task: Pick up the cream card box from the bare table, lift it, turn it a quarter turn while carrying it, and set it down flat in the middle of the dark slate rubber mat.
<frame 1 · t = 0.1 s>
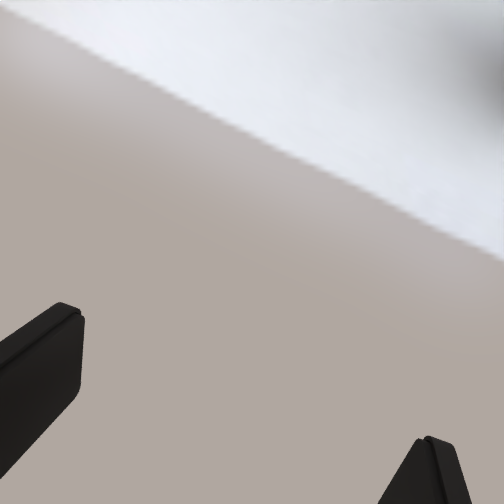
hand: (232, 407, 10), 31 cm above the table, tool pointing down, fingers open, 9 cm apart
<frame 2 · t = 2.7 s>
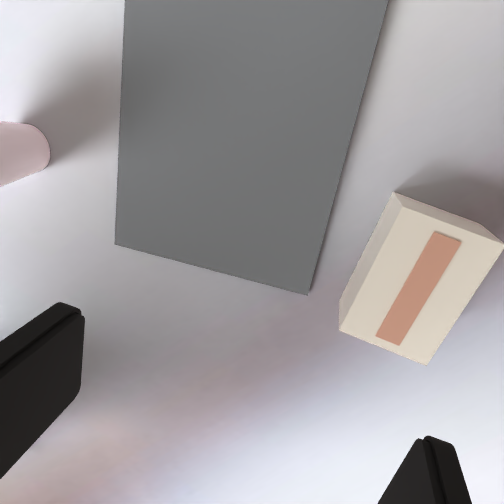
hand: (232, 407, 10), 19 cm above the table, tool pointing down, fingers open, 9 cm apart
smoothie: (31, 147, 30), on the table
mat: (229, 138, 26), on the table
card box: (403, 263, 27), on the table
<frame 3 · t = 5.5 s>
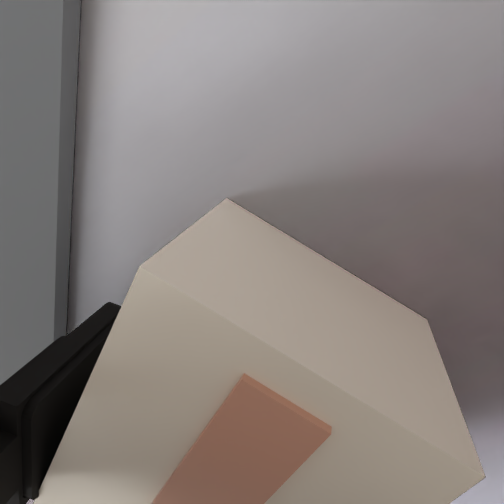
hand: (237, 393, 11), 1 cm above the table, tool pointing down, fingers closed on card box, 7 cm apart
card box: (245, 371, 12), on the table, touching gripper
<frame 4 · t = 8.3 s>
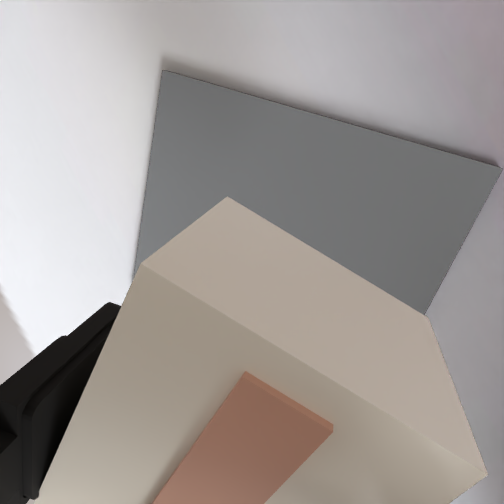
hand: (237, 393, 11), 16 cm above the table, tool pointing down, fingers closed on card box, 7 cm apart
mat: (285, 239, 25), on the table
card box: (246, 370, 12), point 15 cm above the table, touching gripper
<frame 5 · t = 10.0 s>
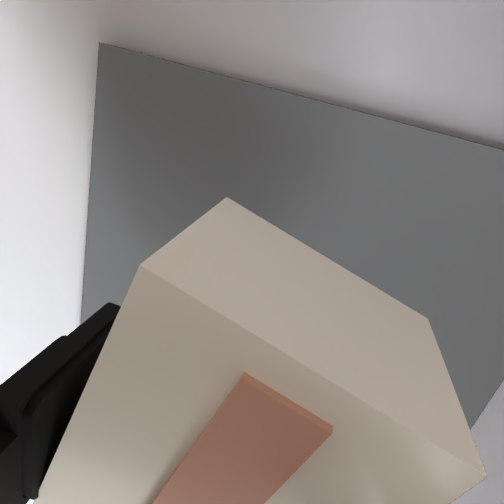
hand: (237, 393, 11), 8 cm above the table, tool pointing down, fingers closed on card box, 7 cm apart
mat: (285, 285, 18), on the table
card box: (246, 370, 12), point 7 cm above the table, touching gripper
when the fingers open (3 cm above the table, at t = 11.4 s): card box drops 1 cm, resting on mat.
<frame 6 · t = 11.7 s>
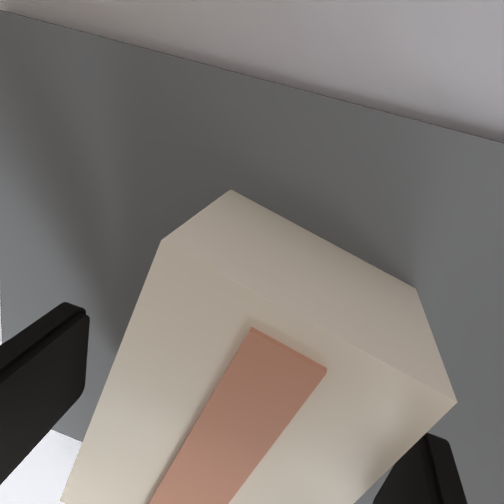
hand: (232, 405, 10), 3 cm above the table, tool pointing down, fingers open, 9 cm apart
mat: (258, 336, 13), on the table
card box: (255, 347, 13), point 1 cm above the table, touching mat
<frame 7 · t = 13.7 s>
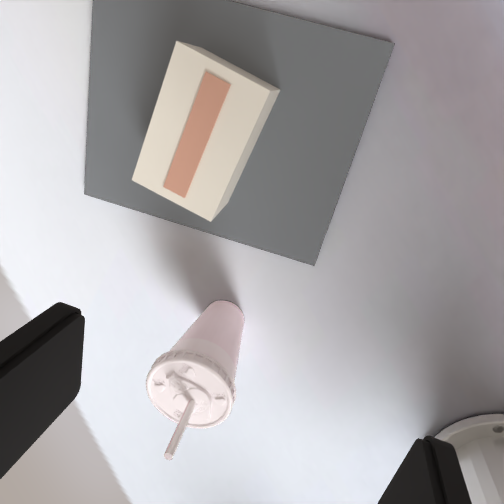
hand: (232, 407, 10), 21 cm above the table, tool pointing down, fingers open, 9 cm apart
smoothie: (225, 316, 35), on the table
mat: (217, 129, 28), on the table
card box: (215, 131, 27), point 1 cm above the table, touching mat
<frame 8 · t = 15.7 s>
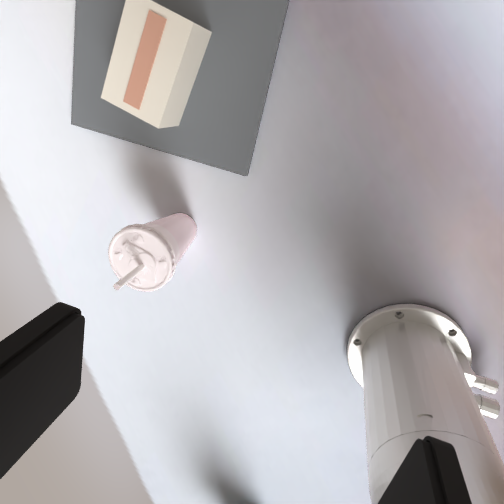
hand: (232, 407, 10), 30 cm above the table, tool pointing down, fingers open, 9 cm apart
smoothie: (182, 228, 43), on the table
mat: (169, 67, 37), on the table
card box: (167, 67, 36), point 1 cm above the table, touching mat
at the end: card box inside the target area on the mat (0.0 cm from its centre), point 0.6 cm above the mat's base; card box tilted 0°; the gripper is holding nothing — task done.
